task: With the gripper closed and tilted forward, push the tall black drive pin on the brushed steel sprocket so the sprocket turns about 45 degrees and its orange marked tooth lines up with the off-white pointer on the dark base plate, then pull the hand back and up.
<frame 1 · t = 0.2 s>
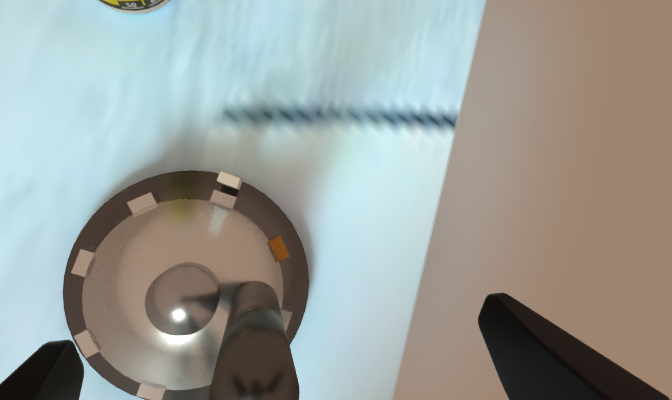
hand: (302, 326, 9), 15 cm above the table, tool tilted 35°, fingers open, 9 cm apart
base plate: (195, 283, 22), on the table
sprocket: (169, 317, 15), point 7 cm above the table, hinge at 0.0°
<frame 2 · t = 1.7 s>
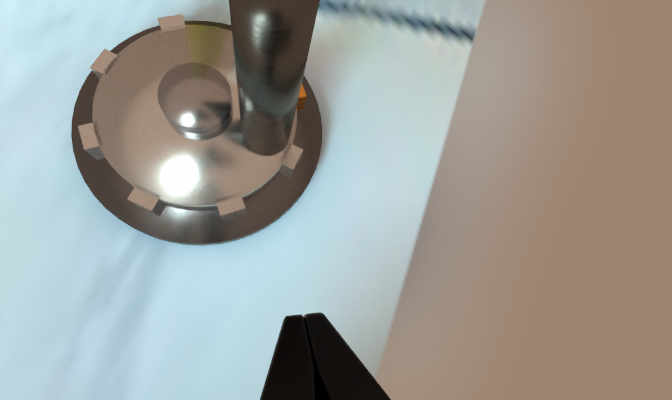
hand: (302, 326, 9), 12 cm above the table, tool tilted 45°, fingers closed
base plate: (206, 130, 22), on the table
sprocket: (184, 61, 15), point 7 cm above the table, hinge at 0.0°
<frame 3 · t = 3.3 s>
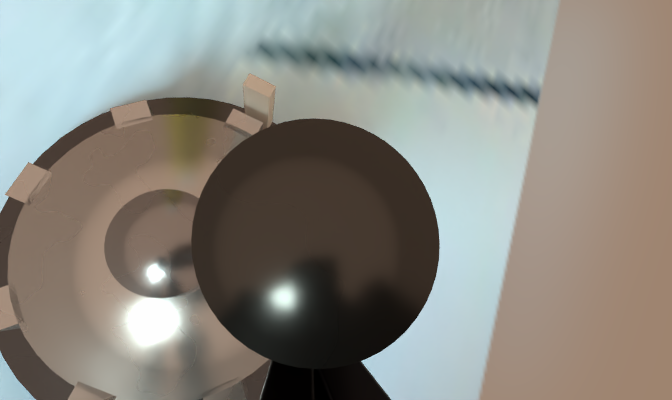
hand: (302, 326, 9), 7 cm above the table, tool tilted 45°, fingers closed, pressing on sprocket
base plate: (188, 254, 15), on the table
sprocket: (138, 227, 9), point 7 cm above the table, hinge at 1.0°, touching gripper
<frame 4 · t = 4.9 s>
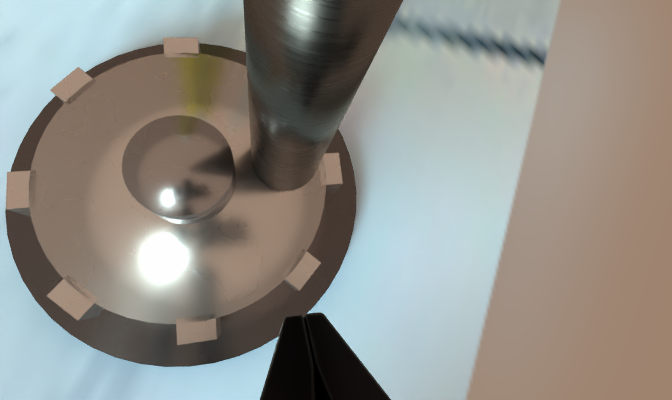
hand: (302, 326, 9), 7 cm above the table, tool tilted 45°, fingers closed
base plate: (199, 195, 16), on the table
sprocket: (157, 130, 9), point 7 cm above the table, hinge at 32.5°
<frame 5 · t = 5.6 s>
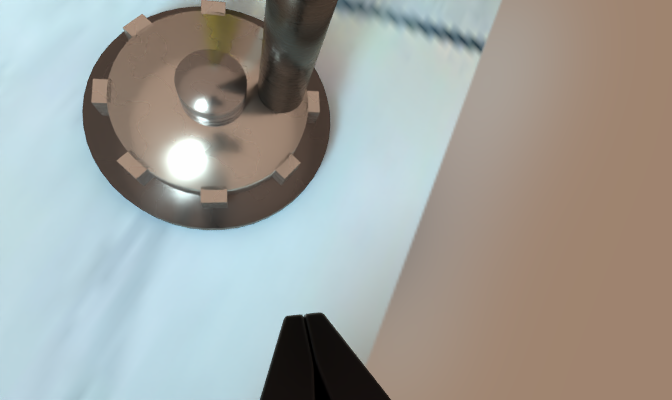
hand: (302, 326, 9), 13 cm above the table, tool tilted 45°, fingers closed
base plate: (216, 117, 22), on the table
sprocket: (206, 47, 15), point 7 cm above the table, hinge at 32.6°
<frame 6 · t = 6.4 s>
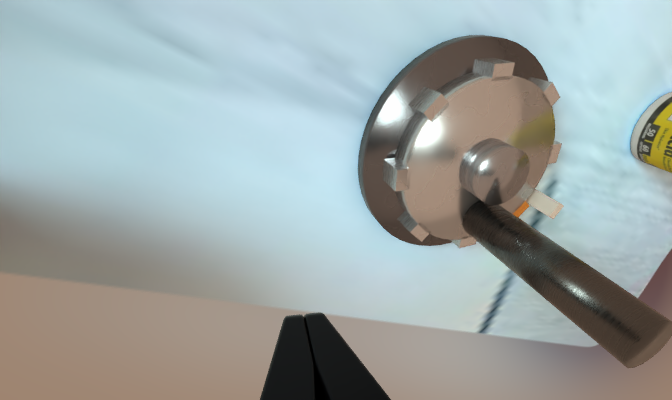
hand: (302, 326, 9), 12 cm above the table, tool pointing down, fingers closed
supplement bottle: (652, 125, 29), on the table
base plate: (455, 149, 23), on the table
sprocket: (544, 201, 18), point 7 cm above the table, hinge at 32.6°
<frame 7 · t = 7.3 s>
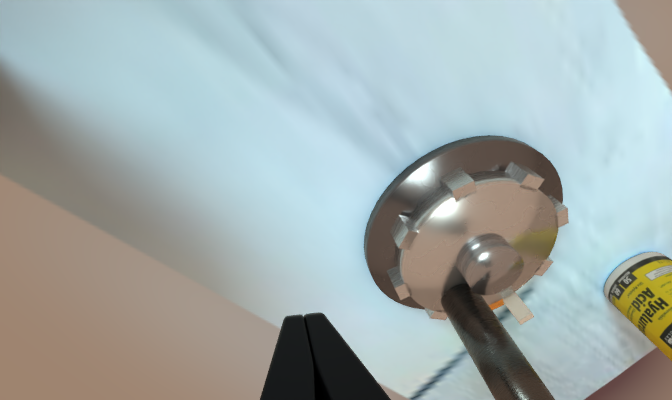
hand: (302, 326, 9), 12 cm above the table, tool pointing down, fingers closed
supplement bottle: (629, 273, 32), on the table
base plate: (460, 229, 25), on the table
sprocket: (526, 311, 19), point 7 cm above the table, hinge at 32.6°
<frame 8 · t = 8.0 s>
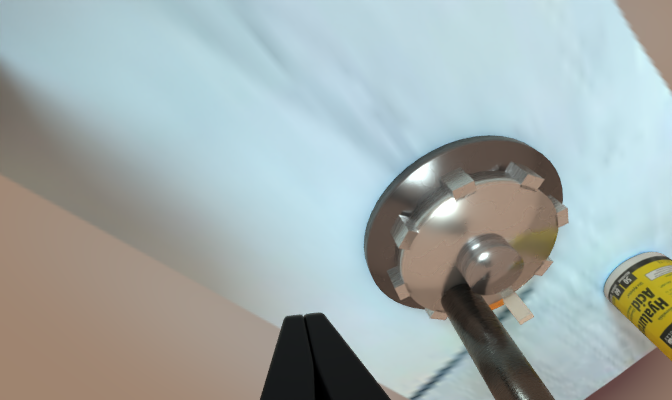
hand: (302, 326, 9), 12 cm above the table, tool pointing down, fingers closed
supplement bottle: (629, 273, 32), on the table
base plate: (460, 229, 25), on the table
sprocket: (526, 311, 19), point 7 cm above the table, hinge at 32.6°
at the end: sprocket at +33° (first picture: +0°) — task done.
